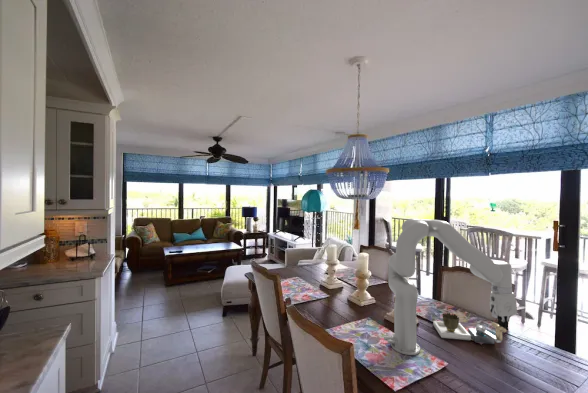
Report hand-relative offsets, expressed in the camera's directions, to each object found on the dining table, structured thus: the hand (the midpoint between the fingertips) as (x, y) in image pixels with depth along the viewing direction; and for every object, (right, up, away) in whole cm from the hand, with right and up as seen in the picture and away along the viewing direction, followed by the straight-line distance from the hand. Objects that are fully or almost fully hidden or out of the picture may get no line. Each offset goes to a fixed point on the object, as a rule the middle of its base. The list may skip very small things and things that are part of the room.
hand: (503, 329), depth 121 cm
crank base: (-4, -10, +9) cm, 14 cm away
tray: (-15, -10, +16) cm, 24 cm away
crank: (-3, -6, +4) cm, 8 cm away
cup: (-15, -9, +16) cm, 24 cm away
